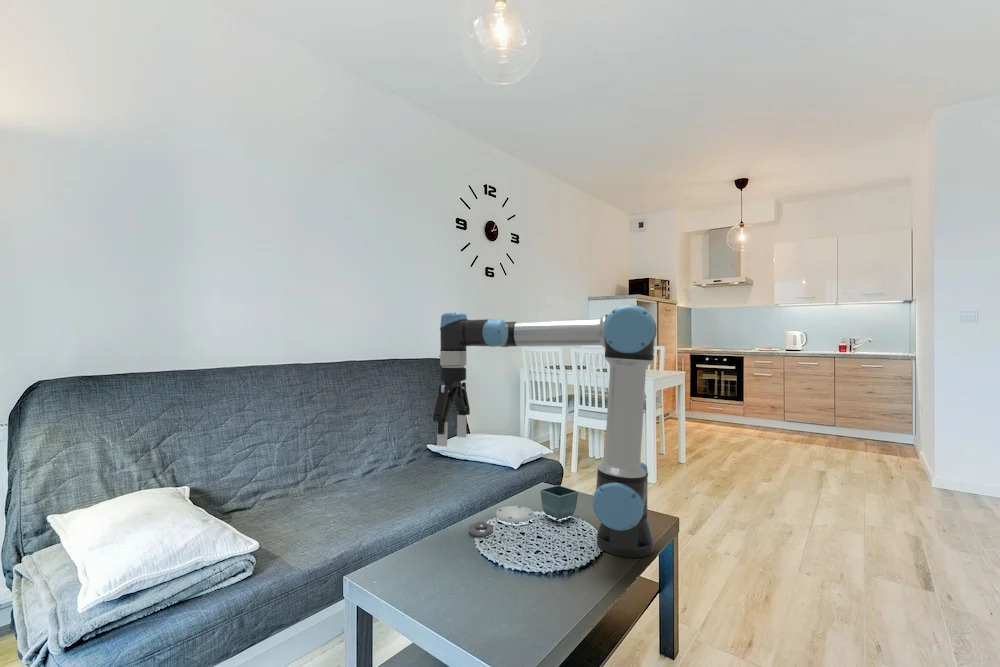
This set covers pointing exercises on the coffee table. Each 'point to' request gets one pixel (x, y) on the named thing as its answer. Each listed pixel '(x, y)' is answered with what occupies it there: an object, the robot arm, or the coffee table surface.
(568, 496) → the flower pot
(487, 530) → the small metal flange
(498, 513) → the grey flange
